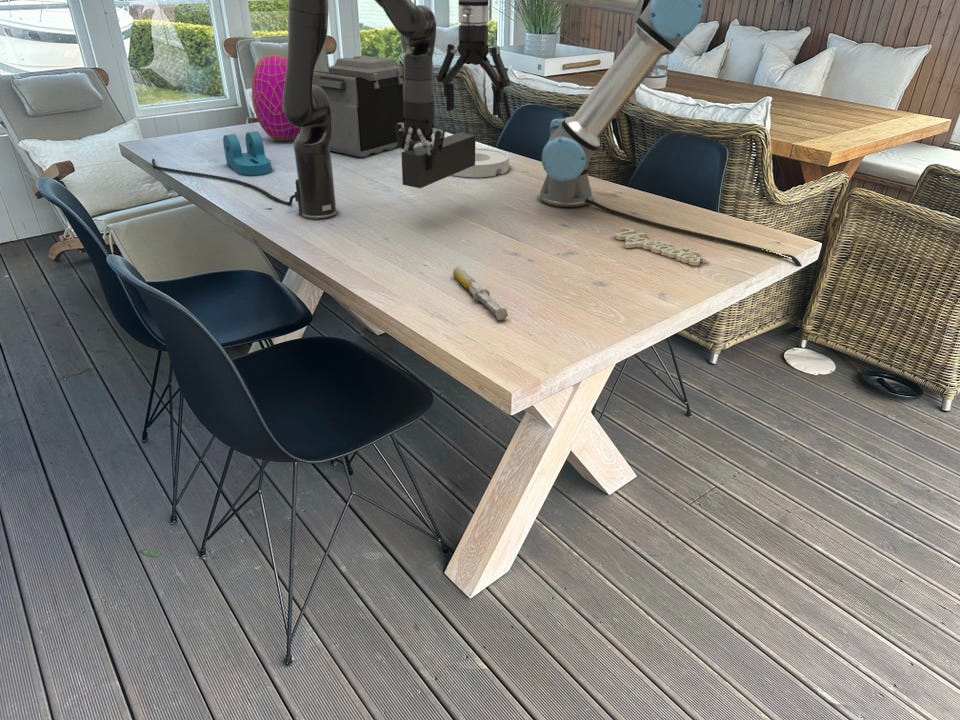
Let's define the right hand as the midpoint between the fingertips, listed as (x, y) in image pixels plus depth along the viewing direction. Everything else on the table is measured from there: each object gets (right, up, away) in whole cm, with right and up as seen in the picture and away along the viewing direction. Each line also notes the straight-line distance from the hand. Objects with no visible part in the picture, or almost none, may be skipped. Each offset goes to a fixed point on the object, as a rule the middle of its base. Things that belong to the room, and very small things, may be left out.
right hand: (472, 112), depth 183 cm
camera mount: (-75, -2, +46) cm, 88 cm away
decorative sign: (+45, -39, -14) cm, 61 cm away
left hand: (-13, -17, -9) cm, 24 cm away
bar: (-9, -17, 0) cm, 19 cm away
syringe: (+2, -53, -38) cm, 65 cm away
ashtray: (0, -1, +49) cm, 49 cm away
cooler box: (-39, +14, +75) cm, 86 cm away
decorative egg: (-74, +19, +81) cm, 111 cm away
